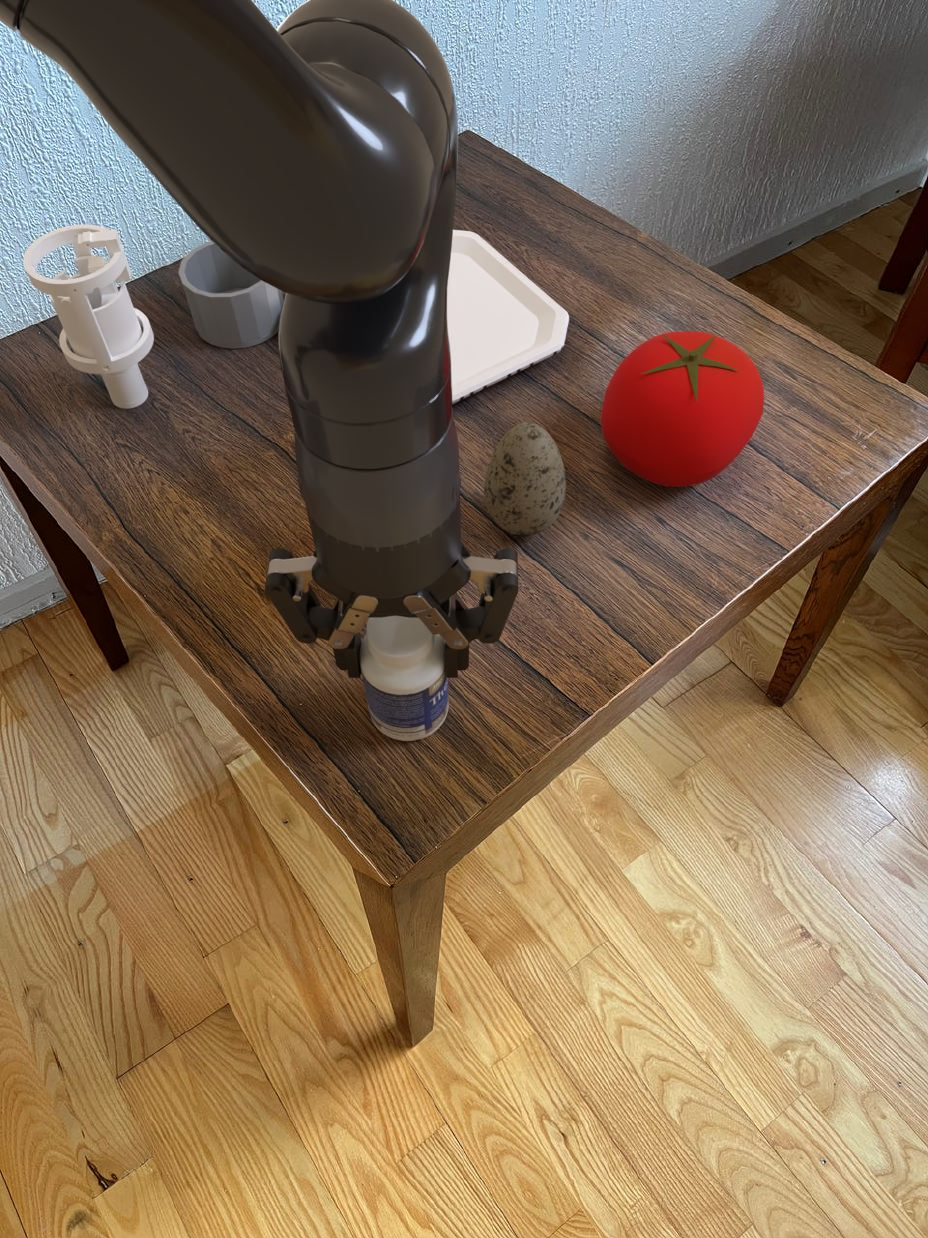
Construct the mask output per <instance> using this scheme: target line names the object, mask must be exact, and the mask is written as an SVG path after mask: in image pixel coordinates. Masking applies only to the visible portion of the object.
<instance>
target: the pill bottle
mask: <svg viewBox="0 0 928 1238" xmlns="http://www.w3.org/2000/svg"><path fill="white" fill-rule="evenodd" d="M359 660H360V668H361V677H362V681H363V686H364V692H365V698H366V702H367V708H368V712H369V715H370V718H371V721H372V723H373V725H374V726H375V727H376V729H377V730H378V731H380V732H381V733H382V734H383V735H385V736H386V737H387V738H391V739H394V740H397V741H403V742H412V741H417V740H418V741H419V740H423V739H425V738H427V737H429V736H431V735H433V734H434V733H435V732H436V731H437V730H439V729H440V727H441V726H442V725H443V724H444V722H445V721H446V718H447V715H448V711H449V706H450V705H449V704H450V703H449V701H450V700H449V699H450V695H449V692H450V691H449V678H447V677H446V658H445V641H444V640H443V639H442V638H441V636H440V635H439V634H437V635H433V634H432V633H431V632H430V631H429V630H428V628H427V627H426V626H425V625H424V624H423V622H422V621H421V620H420V619H419V618H408V617H401V616H389V617H383V618H368V619H367V621H366V626H365V635H364V637H363V639H362V640H361V647H360V653H359Z"/></svg>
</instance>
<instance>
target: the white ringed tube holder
mask: <svg viewBox="0 0 928 1238" xmlns="http://www.w3.org/2000/svg"><path fill="white" fill-rule="evenodd" d="M70 244H71V246H72V249H73V250H74V253H75V255H76V257H74V258H73V262H74V264H75V266H76V269H77V272H78V273H76V274H73V275H72V276H71V275H70V276H68V273H67V271H66V269H63V270H61V271H60V272H59V273H57V274H56V275H55V276H54V277H53V278H49V277H46V276H44V275H41V274H40V273H38V272H37V268H38V266H39V264H40V263H41V261H42V260H43V259H44V258H45V257H46V256H48V254H50V253H51V252H53V251H54V250H57V249H59V248H61V247H63V246H67V245H70ZM103 247H106V248H105V249H106V251H107V254H108V257H109V261H108V259H107V258H106V257H104V256H99V255H94V254H93V251H92V249H96V248H103ZM22 263H23V267H24V270H25V273H26V275H27V277H28V279H29V281H30V283H31V285H32V286H33V288H35V289H36V290H38V291H39V292H41V293H42V294H45V295H48V298H49V300H50V301H51V304H52V307H53V308H54V311H55V313H56V315H57V317H58V320H59V323H60V325H61V326H62V330H61V331H60V334H59V339H58V340H59V346H60V347H59V348H60V349H61V351H62V354H63V355H64V357H65V360H66V361H67V363H68V364H69V365H70V366H71V367H72V368H74V369H75V370H77V371H79V372H82V373H86V374H91V375H100V376H101V377H102V380H103V382H104V384H105V385H104V386H105V387H106V389H107V392H108V394H109V397H110V400H111V402H112V404H113V405H114V406H116V407H117V408H120V409H125V410H127V409H134V408H138V407H139V406H141V405H143V403H145V402H146V401H147V399H148V398H149V390H148V387H147V385H146V382H145V380H144V377H143V375H142V372H141V368H140V367H139V363H140V362H141V361H142V360H143V359H144V358H146V356H147V355H148V354H149V353H150V352H151V350H152V348H153V345H154V342H155V341H154V340H155V335H154V332H153V329H152V326H151V324H150V321H149V318H148V317H147V315H146V314H144V312H143V311H141V310H140V309H138V308H136V307H134V305H133V302H132V299H131V296H130V293H129V290H128V288H127V285H126V283H125V282H127V281H132V270H131V267H130V264H129V261H128V259H127V255H126V251H125V249H124V246H123V243H122V241H121V239H120V236H119V232H118V230H117V229H110V228H107V227H105V226H100V225H96V224H95V225H94V224H72V225H67V226H63V227H59V228H56V229H53V230H51V231H49V232H47V233H45V234H42V236H40V237H38V238H37V239H36V240H34V241H33V242H32V243H31V244H30V245H29V246H28V248H27V249H26V251H25V252H24V255H23V259H22ZM116 282H119V283H120V288H118V285H117V283H116ZM142 329H143V330H142ZM71 349H72V350H71Z"/></svg>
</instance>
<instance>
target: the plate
mask: <svg viewBox="0 0 928 1238" xmlns="http://www.w3.org/2000/svg"><path fill="white" fill-rule="evenodd" d="M569 315H570V314H569V313H568V311H567V310H566V309H564V308H563V307H562V306H561V305H560V304H559V303H558V302H556V301H555V300H554V299H553V298H552V297H550V295H548V294H547V293H546V292H545V291H544V290H543V289H541V287H539V286H538V285H537V284H535V282H533V281H532V280H531V279H530V278H529V277H527V275H525V274H524V273H523V272H521V270H520V269H518V268H517V267H516V266H515V265H514V264H513V263H511V262H510V261H509V260H508V259H507V258H506V257H505V256H503V255H502V254H501V253H500V252H499V251H498V250H496V249H495V248H494V247H493V246H492V245H490V243H489V242H487V241H486V240H485V239H484V238H483V237H482V236H480V235H479V234H478V233H476V232H473V231H470V230H460V229H453V236H452V248H451V259H450V268H449V276H448V286H447V323H448V334H449V342H450V352H451V373H452V405H454V404H456V403H458V402H460V401H462V400H465V399H467V398H468V397H471V396H472V395H475V394H477V393H479V392H481V391H483V390H485V389H487V388H489V387H491V386H493V385H495V384H497V383H499V382H501V381H503V380H505V379H507V378H510V377H511V376H513V375H516V374H518V373H520V372H522V371H524V370H526V369H528V368H530V367H532V366H534V365H537V364H538V363H540V362H543V361H545V360H546V359H549V358H551V357H552V356H555V355H556V354H559V353H560V352H561V351H562V350H563V349H564V347H565V343H566V338H567V334H568V328H569V323H570V316H569Z"/></svg>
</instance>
